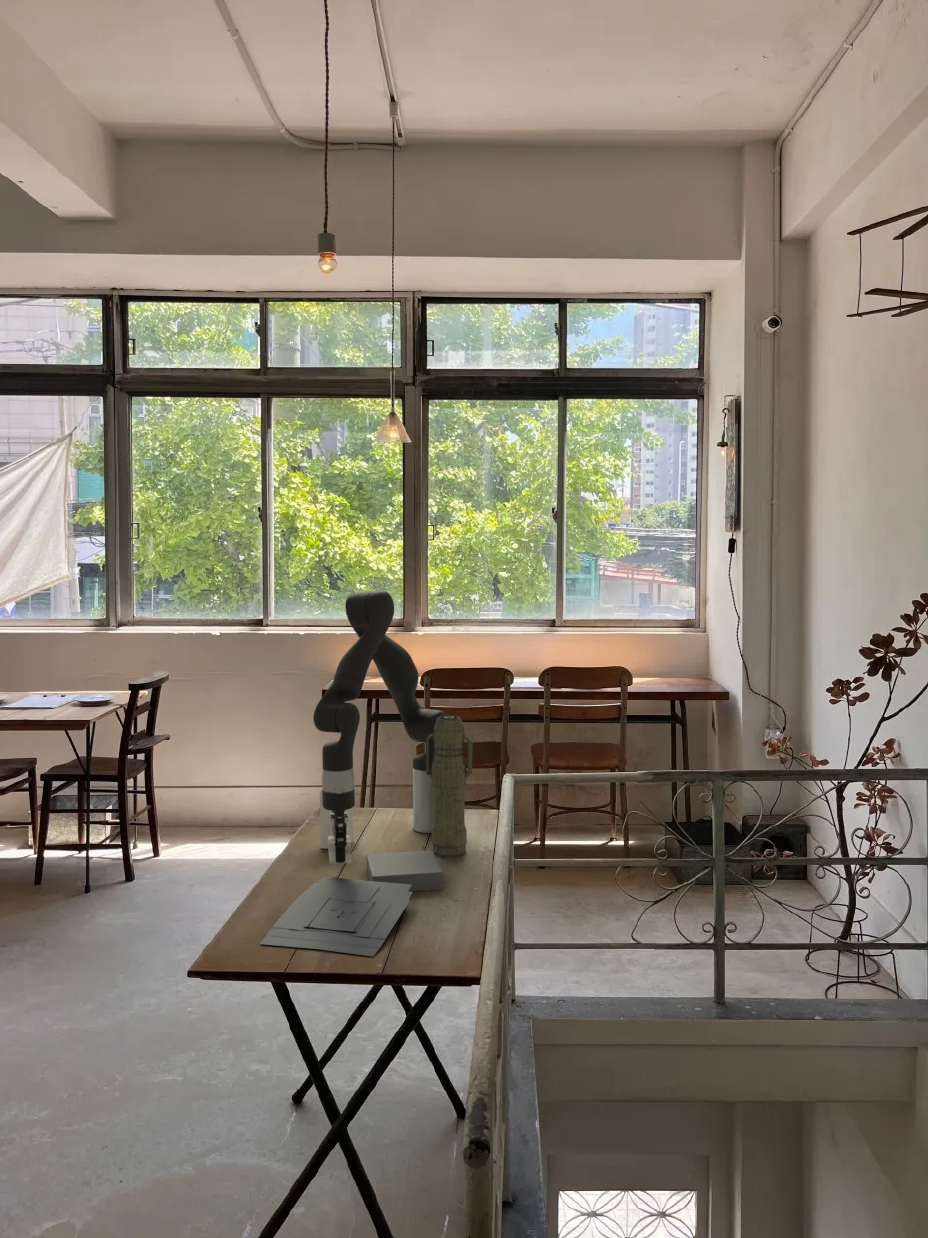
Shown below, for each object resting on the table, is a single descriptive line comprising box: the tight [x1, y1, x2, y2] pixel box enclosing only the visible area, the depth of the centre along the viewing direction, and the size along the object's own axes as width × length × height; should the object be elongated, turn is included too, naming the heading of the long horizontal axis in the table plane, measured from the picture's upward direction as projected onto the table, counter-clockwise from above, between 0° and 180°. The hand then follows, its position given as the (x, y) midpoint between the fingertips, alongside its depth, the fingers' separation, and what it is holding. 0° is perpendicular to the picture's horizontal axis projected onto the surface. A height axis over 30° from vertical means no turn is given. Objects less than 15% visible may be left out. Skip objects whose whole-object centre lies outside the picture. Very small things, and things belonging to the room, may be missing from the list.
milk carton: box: [319, 790, 354, 850], centre depth 256 cm, size 7×7×19 cm
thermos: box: [425, 714, 474, 859], centre depth 250 cm, size 9×12×35 cm
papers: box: [259, 876, 414, 957], centre depth 205 cm, size 24×30×4 cm
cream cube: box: [327, 835, 352, 865], centre depth 230 cm, size 5×5×5 cm
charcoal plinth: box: [366, 849, 444, 892], centre depth 231 cm, size 16×16×4 cm
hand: (339, 858), depth 230 cm, fingers closed on cream cube, 5 cm apart
